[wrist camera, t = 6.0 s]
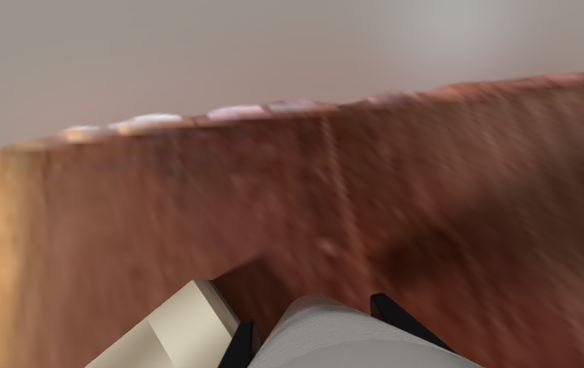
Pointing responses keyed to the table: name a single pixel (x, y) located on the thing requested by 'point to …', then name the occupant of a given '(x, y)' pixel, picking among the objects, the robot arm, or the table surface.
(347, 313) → the steel pin
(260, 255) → the table surface
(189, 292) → the socket block
